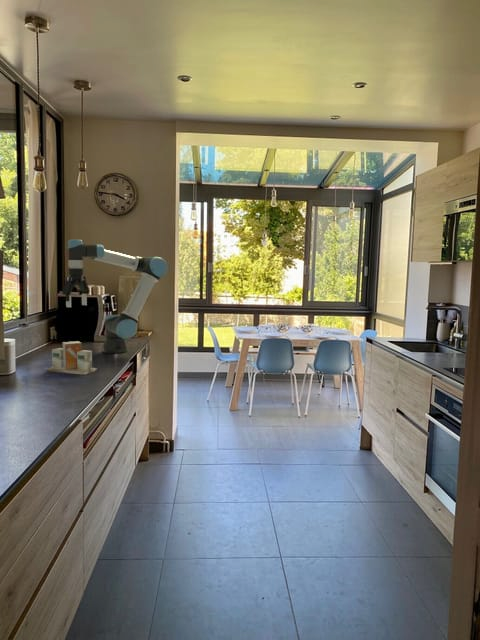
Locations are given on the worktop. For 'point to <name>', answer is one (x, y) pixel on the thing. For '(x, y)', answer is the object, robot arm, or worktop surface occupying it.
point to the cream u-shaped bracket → (82, 362)
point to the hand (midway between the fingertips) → (76, 306)
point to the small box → (70, 354)
